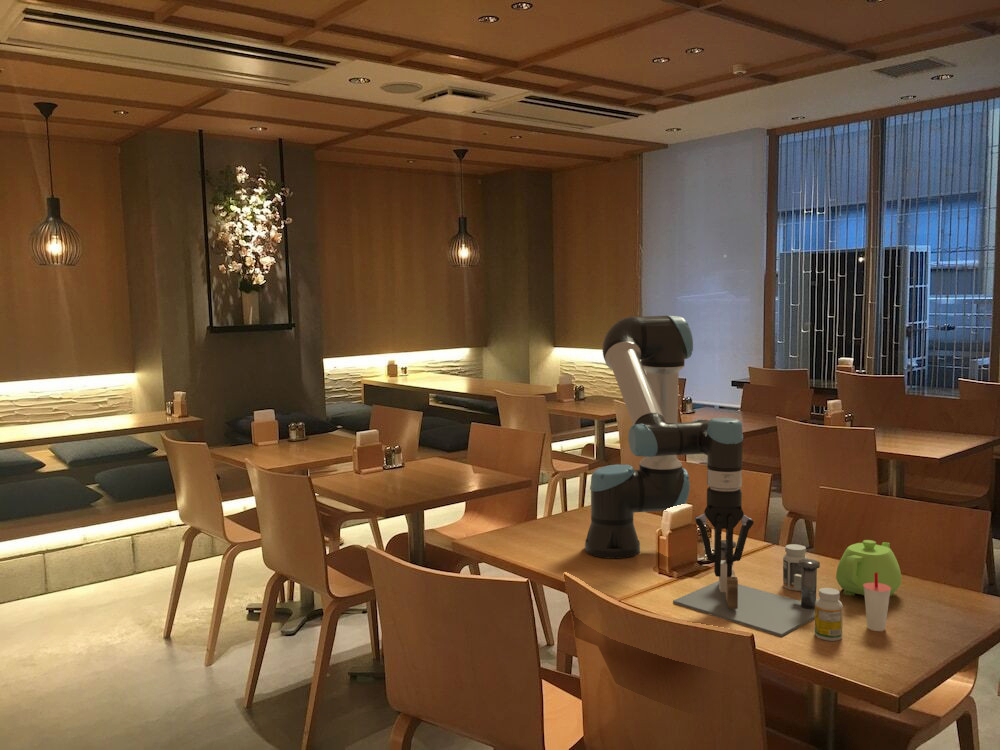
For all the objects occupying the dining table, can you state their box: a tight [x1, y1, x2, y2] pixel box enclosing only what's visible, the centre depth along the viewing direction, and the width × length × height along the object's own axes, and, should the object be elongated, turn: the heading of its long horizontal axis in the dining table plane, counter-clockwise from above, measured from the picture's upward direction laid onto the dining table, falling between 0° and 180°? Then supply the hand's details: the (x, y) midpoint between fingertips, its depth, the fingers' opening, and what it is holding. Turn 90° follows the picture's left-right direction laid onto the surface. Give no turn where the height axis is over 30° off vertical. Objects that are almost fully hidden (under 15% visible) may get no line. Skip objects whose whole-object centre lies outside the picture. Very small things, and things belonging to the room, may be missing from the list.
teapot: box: [835, 539, 902, 597], centre depth 195 cm, size 20×13×13 cm
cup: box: [863, 573, 891, 632], centre depth 175 cm, size 5×5×12 cm
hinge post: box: [721, 539, 737, 566], centre depth 202 cm, size 4×4×11 cm
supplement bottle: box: [814, 587, 844, 642], centre depth 172 cm, size 5×5×10 cm
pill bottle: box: [782, 543, 809, 592], centre depth 200 cm, size 6×6×10 cm
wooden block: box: [723, 557, 739, 609], centre depth 191 cm, size 16×2×6 cm, turn 169°
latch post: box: [794, 558, 821, 609], centre depth 187 cm, size 6×5×11 cm
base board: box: [672, 580, 815, 638], centre depth 189 cm, size 27×20×1 cm
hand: (722, 590), depth 189 cm, fingers closed
